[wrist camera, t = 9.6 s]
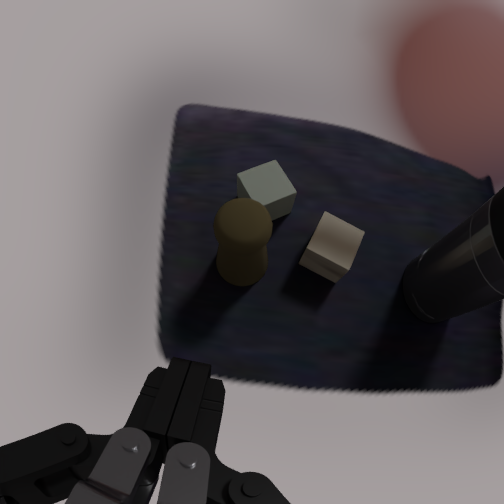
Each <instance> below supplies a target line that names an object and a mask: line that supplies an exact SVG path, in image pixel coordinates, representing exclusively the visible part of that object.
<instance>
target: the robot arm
mask: <svg viewBox="0 0 504 504" xmlns="http://www.w3.org/2000/svg"><path fill="white" fill-rule="evenodd" d="M403 294H404V297H405V300H406V303H407V305H408V307H409V308H410V310H411V311H412V312H413V314H415V315H416V316H417V317H418V318H419V319H421V320H423V321H425V322H428V323H437V322H441V321H444V320H447V319H450V318H453V317H456V316H459V315H462V314H465V313H468V312H471V311H473V310H476V309H479V308H482V307H484V306H487V305H490V304H492V303H495V302H497V301H500V300H502V299H504V187H503V188H502V189H501V190H500V191H499V192H498V193H496V194H495V195H494V196H493V197H492V198H491V199H490V200H488V201H487V202H486V203H485V204H484V205H483V206H481V207H480V208H479V209H478V210H477V211H476V212H474V213H473V214H472V215H471V216H470V217H468V218H467V219H466V220H465V221H463V222H462V223H461V224H460V225H458V226H457V227H456V228H455V229H453V230H452V231H451V232H450V233H448V234H447V235H446V236H444V237H443V238H442V239H441V240H439V241H438V242H437V243H435V244H434V245H433V246H431V247H430V248H428V249H427V250H426V251H424V252H423V253H422V254H420V255H419V256H418V257H416V258H415V259H414V260H412V261H411V262H410V263H409V265H408V266H407V268H406V270H405V272H404V276H403ZM210 376H211V365H210V364H205V363H200V362H195V361H190V360H185V359H181V358H176V357H173V358H172V359H171V362H170V364H169V366H168V369H166V368H162V367H157V368H156V369H154V370H153V371H152V372H151V373H150V374H149V375H148V377H147V379H146V381H145V383H144V386H143V388H142V390H141V392H140V395H139V396H138V398H137V401H136V403H135V405H134V407H133V409H132V411H131V414H130V416H129V418H128V420H127V423H126V424H125V426H124V427H123V428H122V429H119V430H118V431H116V432H115V433H114V434H111V435H95V434H86V432H85V431H84V430H83V429H82V428H81V427H80V426H78V425H76V424H73V423H64V424H61V425H58V426H56V427H53V428H51V429H48V430H45V431H43V432H41V433H38V434H35V435H32V436H29V437H27V438H24V439H21V440H18V441H16V442H13V443H10V444H7V445H4V446H1V447H0V504H54V503H57V502H59V501H61V500H64V499H67V498H68V499H67V501H66V502H65V504H149V501H150V499H151V497H152V494H153V492H154V489H155V487H156V484H157V482H158V479H159V472H160V469H161V466H162V463H164V464H165V466H164V471H163V476H162V481H161V486H160V491H159V496H158V501H157V504H290V503H289V501H288V500H287V499H286V498H285V497H284V496H283V495H282V493H280V491H279V490H278V489H277V488H276V487H275V485H274V484H273V483H272V482H271V481H270V480H269V479H268V478H267V477H266V476H264V475H262V474H260V473H256V472H245V473H240V472H238V471H235V470H233V469H231V468H229V467H227V466H225V465H224V464H222V463H221V462H220V461H219V459H218V458H217V456H216V454H215V448H216V443H217V437H218V433H219V428H220V423H221V418H222V413H223V405H224V397H225V388H224V385H223V382H222V380H218V379H213V378H210Z"/></svg>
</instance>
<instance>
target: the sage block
mask: <svg viewBox="0 0 504 504" xmlns="http://www.w3.org/2000/svg"><path fill="white" fill-rule="evenodd" d="M296 193H297V191H296V190H295V188H294V187H293V185H292V184H291V182H290V181H289V179H288V178H287V176H286V175H285V173H284V172H283V170H282V169H281V167H280V166H279V164H278V163H277V161H276V160H273V161H271V162H268V163H265V164H262V165H260V166H257V167H254V168H251V169H249V170H246V171H243V172H241V173H238V174H237V197H238V198H250V199H253V200H255V201H258V202H260V203H261V204H262V205H263V206H265V207H266V209H267V210H268V212H269V214H270V216H271V220H275V219H277V218H279V217H282V216H284V215H286V214H289V213H291V209H292V206H293V203H294V200H295V197H296Z"/></svg>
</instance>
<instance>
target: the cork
mask: <svg viewBox="0 0 504 504" xmlns="http://www.w3.org/2000/svg"><path fill="white" fill-rule="evenodd" d="M272 226H273V224H272V220H271V216H270V214H269V212H268V210H267V209H266V207H265V206H263V205H262V204H261V203H260V202H258V201H255V200H253V199H250V198H237V199H233V200H231V201H228V202H226V203H225V204H224V205H223V206H222V207H221V208H220V209H219V211H218V212H217V214H216V216H215V220H214V225H213V227H214V233H215V237H216V239H217V241H218V243H219V247H218V253H217V259H216V265H217V270H218V272H219V273H220V275H221V277H222V278H223V279H224V280H226V281H227V282H228V283H231V284H233V285H235V286H248V285H252V284H254V283H256V282H258V281H259V280H260V279H261V278H262V277H263V276H264V274H265V272H266V270H267V266H268V256H267V248H266V244H267V243H268V241H269V239H270V237H271V234H272Z"/></svg>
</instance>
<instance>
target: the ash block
mask: <svg viewBox="0 0 504 504" xmlns="http://www.w3.org/2000/svg"><path fill="white" fill-rule="evenodd" d="M364 233H365V232H363V231H361V230H360V229H358V228H356V227H354V226H352V225H350V224H348V223H346V222H345V221H343V220H341V219H339V218H337V217H335V216H333V215H331V214H329V213H327V212H324V214H323V216H322V218H321V220H320V222H319V224H318V226H317V228H316V230H315V232H314V234H313V236H312V238H311V240H310V242H309V244H308V246H307V248H306V250H305V252H304V254H303V256H302V257H301V259H300V261H299V263H298V264H300V265H302V266H304V267H306V268H308V269H310V270H311V271H313V272H315V273H317V274H319V275H321V276H323V277H325V278H327V279H329V280H330V281H332V282H334V283H336V282H337V281H338V280H339V279H341V278H342V277H343V276H344V275H345V274H346V273H347V272H348V271H349V269H350V267H351V265H352V262H353V260H354V257H355V255H356V253H357V250H358V248H359V245H360V243H361V240H362V238H363V235H364Z"/></svg>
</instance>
